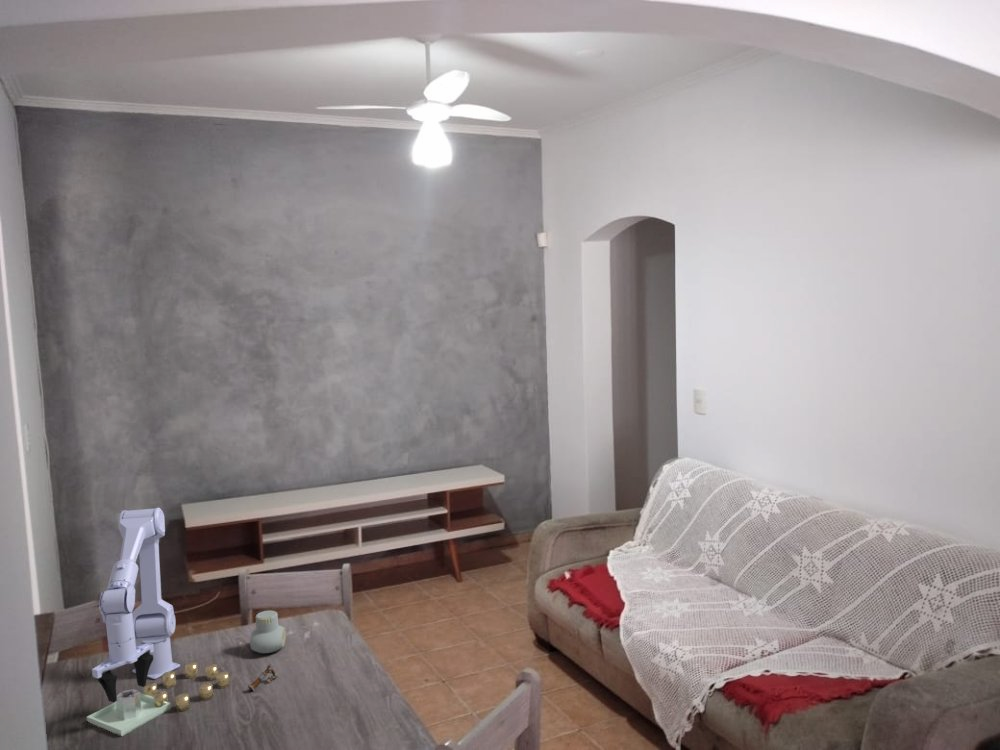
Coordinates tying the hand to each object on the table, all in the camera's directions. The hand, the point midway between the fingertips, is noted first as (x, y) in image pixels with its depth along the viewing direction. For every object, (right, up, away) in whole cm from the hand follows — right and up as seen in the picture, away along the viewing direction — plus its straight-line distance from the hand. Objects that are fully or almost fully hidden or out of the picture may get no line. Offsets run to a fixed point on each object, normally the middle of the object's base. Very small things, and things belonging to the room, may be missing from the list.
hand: (127, 693), depth 187 cm
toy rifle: (+28, -3, +12) cm, 31 cm away
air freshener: (+24, -1, +33) cm, 41 cm away
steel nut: (0, -5, 0) cm, 5 cm away
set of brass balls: (+10, -4, +11) cm, 15 cm away
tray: (0, -6, +1) cm, 6 cm away
